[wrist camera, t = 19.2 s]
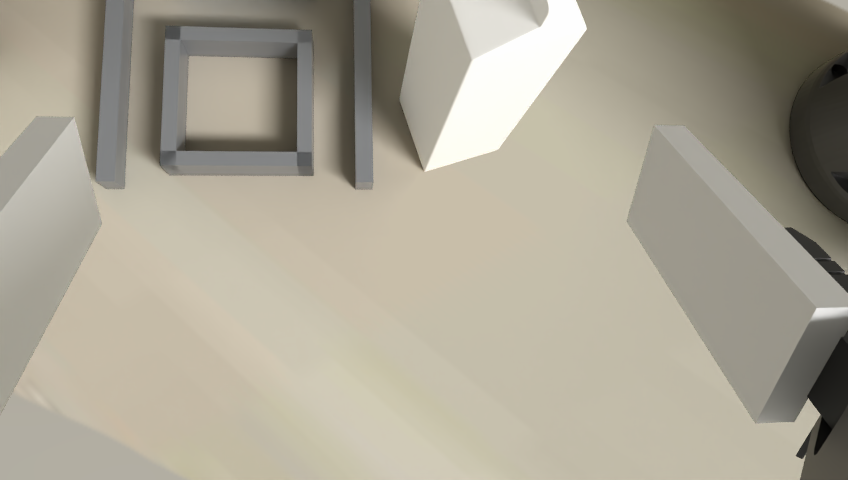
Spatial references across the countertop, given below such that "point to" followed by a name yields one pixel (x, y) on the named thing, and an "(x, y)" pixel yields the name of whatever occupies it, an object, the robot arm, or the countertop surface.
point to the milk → (480, 71)
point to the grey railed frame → (174, 102)
